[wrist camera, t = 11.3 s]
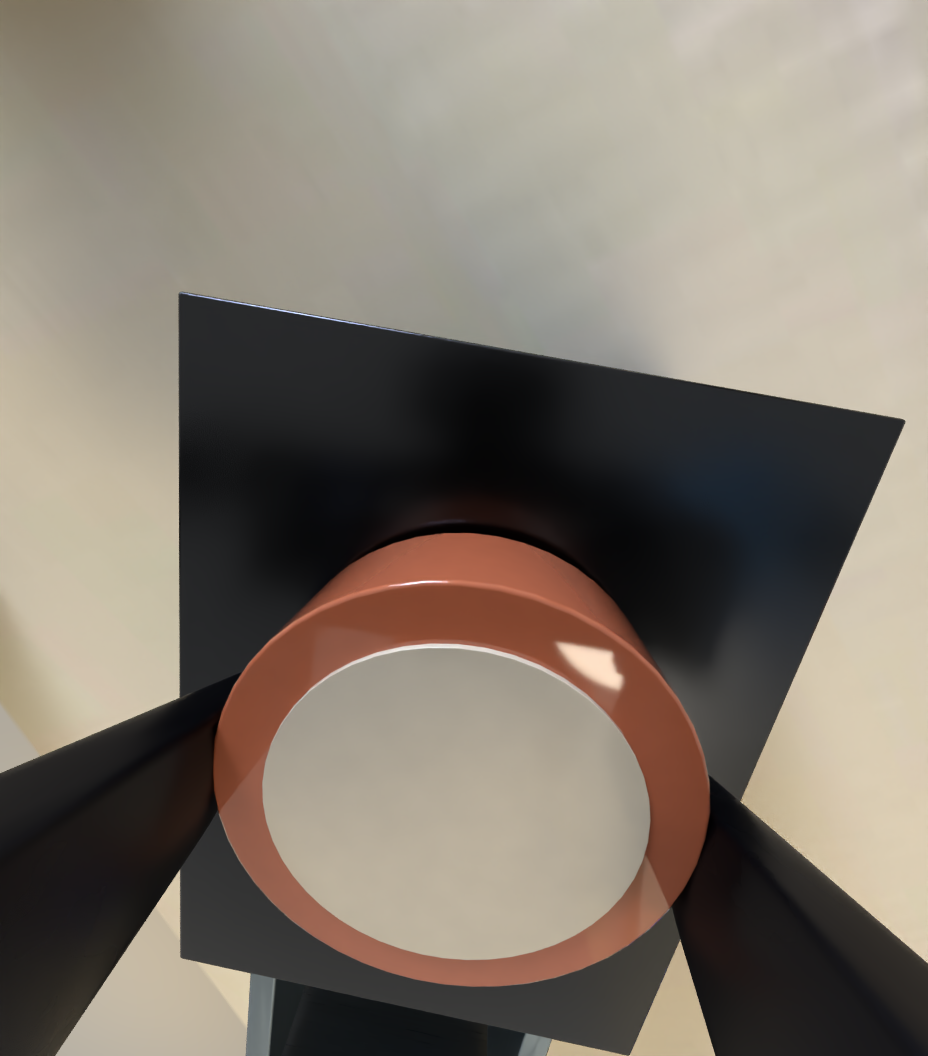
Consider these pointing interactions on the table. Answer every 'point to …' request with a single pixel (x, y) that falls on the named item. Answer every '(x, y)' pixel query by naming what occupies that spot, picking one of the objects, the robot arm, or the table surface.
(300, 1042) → the drawer
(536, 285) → the table surface
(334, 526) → the cabinet
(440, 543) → the round tin
